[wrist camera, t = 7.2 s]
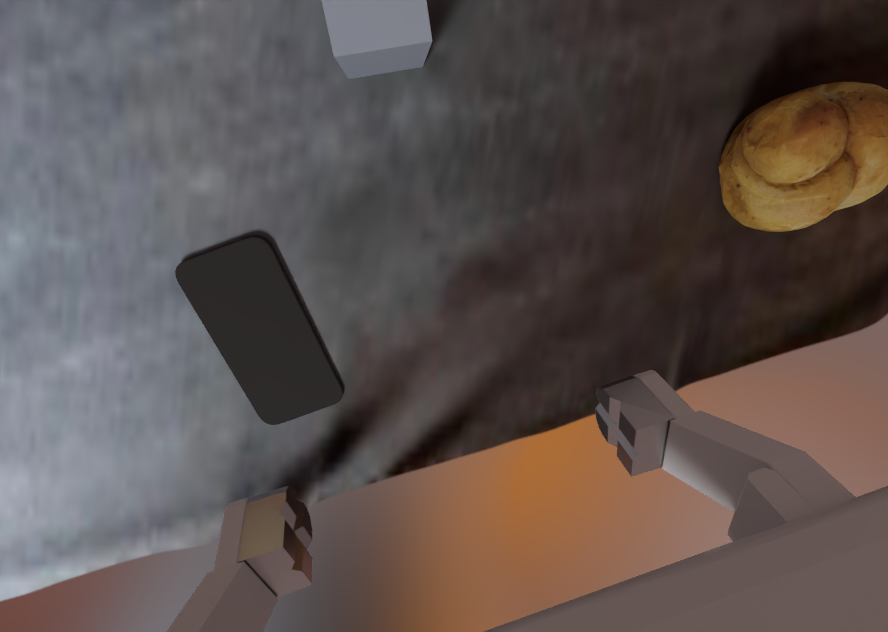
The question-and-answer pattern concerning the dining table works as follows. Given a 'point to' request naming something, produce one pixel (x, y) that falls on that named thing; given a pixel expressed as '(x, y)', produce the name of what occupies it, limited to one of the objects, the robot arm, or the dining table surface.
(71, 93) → the dining table surface
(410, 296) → the dining table surface
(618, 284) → the dining table surface
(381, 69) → the slate block
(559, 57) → the dining table surface
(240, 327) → the phone
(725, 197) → the bread roll
